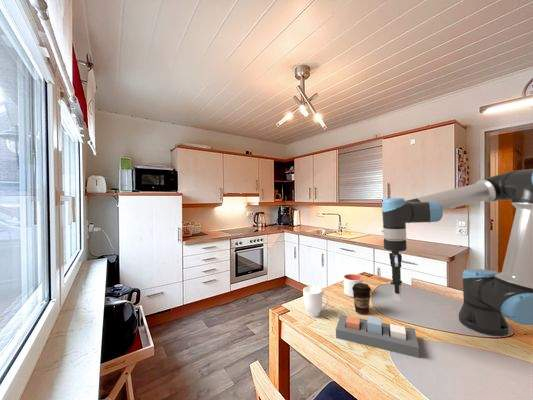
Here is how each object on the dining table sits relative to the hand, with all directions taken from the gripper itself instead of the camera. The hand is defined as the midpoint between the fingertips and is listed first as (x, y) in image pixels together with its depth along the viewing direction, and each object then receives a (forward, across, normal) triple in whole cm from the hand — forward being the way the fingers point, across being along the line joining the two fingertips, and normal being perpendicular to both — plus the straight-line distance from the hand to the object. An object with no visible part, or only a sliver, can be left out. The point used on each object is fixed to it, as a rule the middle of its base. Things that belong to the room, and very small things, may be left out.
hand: (397, 300), depth 86 cm
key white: (+16, 0, 0) cm, 16 cm away
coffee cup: (+17, -19, -14) cm, 29 cm away
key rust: (+16, 0, -16) cm, 22 cm away
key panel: (+16, 0, -8) cm, 18 cm away
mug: (+16, -9, -34) cm, 39 cm away
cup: (+17, -37, -20) cm, 45 cm away
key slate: (+14, 0, -8) cm, 16 cm away
